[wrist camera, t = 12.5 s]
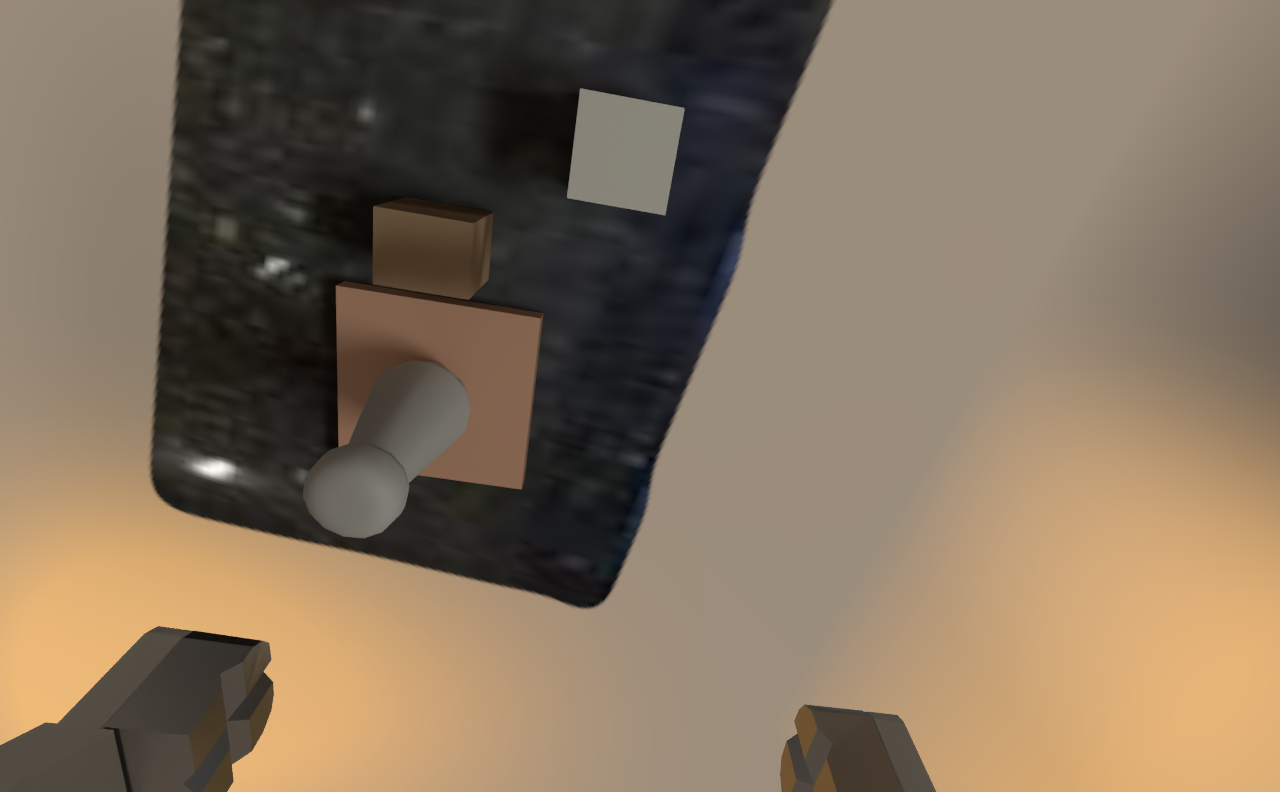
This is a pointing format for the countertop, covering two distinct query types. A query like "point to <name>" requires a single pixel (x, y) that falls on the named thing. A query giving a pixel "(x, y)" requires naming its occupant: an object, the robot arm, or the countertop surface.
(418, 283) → the walnut block
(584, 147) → the pale grey block
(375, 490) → the salt shaker
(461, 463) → the terracotta tile
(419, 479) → the countertop surface
